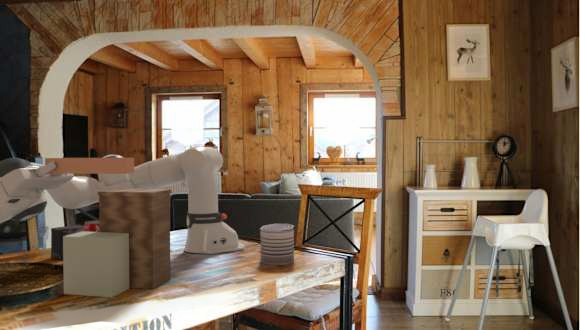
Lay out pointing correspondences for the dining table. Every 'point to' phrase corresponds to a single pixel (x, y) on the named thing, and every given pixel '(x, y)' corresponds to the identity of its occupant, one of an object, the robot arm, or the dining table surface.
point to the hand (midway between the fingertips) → (62, 163)
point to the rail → (93, 165)
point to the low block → (96, 263)
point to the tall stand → (140, 231)
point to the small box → (61, 239)
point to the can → (277, 244)
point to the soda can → (91, 226)
